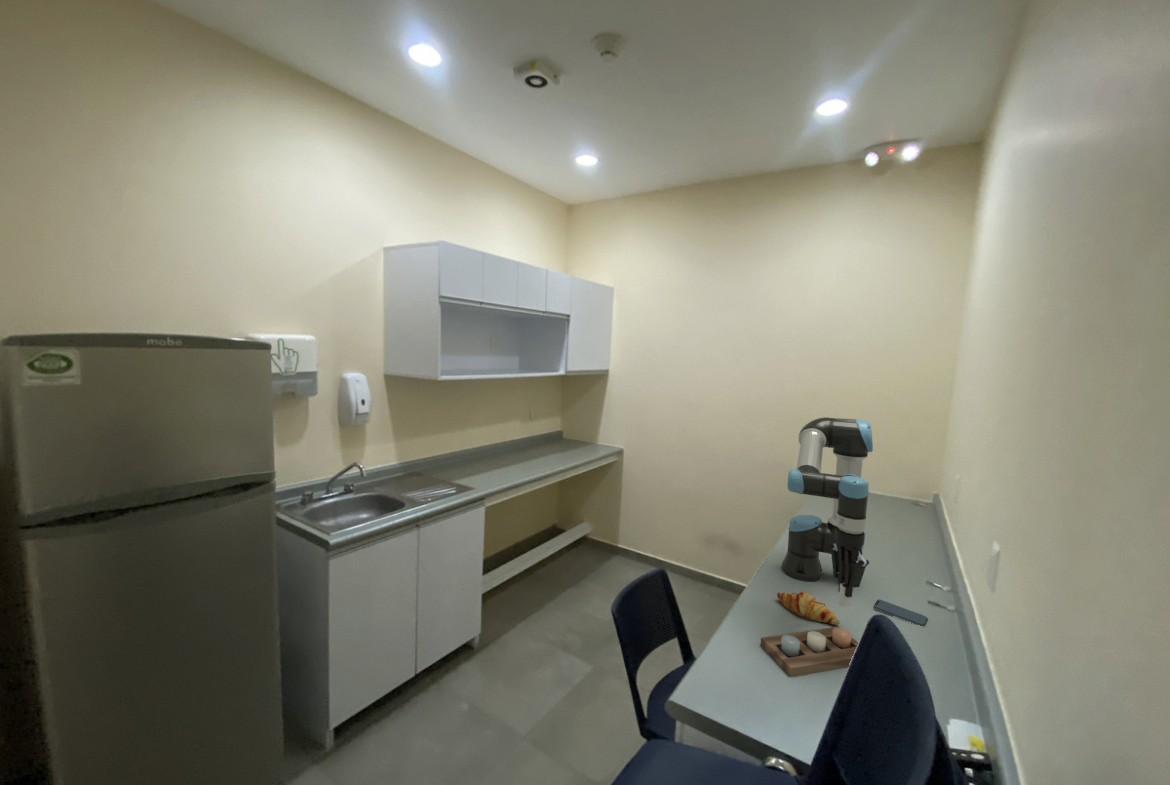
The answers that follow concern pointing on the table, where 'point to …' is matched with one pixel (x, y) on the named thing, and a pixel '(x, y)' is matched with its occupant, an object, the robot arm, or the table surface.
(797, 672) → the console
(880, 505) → the table surface
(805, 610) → the croissant
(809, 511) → the table surface
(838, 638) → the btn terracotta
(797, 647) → the slate button
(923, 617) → the smartphone
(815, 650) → the cream button
